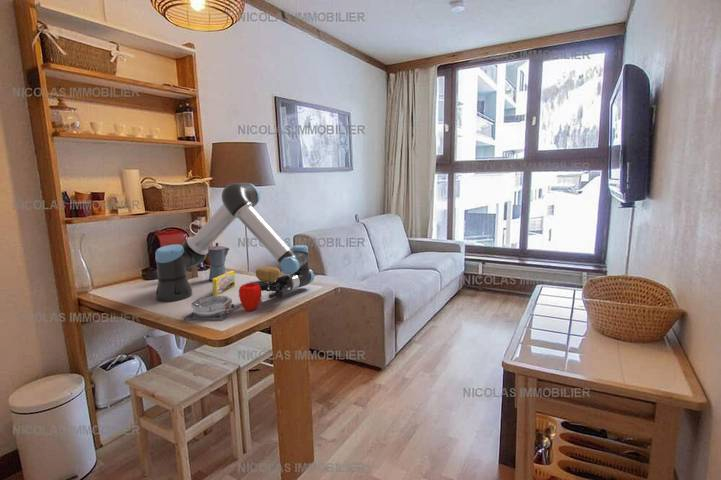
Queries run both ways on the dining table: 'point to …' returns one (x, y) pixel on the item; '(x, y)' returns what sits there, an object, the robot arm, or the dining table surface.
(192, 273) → the wooden block
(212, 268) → the moka pot
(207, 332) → the dining table surface
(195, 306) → the rosette stand
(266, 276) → the potato
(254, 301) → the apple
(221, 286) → the candy box
